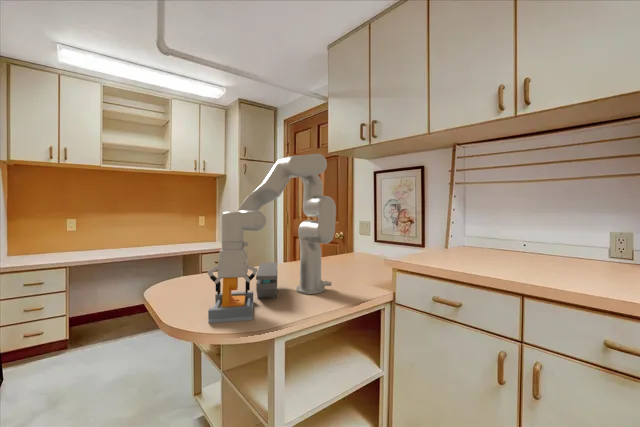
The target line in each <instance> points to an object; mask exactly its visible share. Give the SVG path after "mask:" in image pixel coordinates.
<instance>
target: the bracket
mask: <svg viewBox="0 0 640 427" xmlns="http://www.w3.org/2000/svg"><path fill="white" fill-rule="evenodd" d="M238 280H239V278H222V292H221V293H222V307H238V306H245V296H232V295H231V293H232V291H237V290H238V288H239V287H238V286H239V284H238V283H239V281H238Z"/></svg>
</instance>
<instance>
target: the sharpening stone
mask: <svg viewBox="0 0 640 427" xmlns="http://www.w3.org/2000/svg"><path fill="white" fill-rule="evenodd" d="M257 270H258V271H257V273H256V275H255V281H256V284H255V286H256V287H255V288H256V289H255V290H256V296H257V299H266V298H267V299H268V298H270V299H271V298H277V296H278V262H260V264H259V266H258V268H257Z"/></svg>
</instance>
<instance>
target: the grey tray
mask: <svg viewBox="0 0 640 427" xmlns="http://www.w3.org/2000/svg"><path fill="white" fill-rule="evenodd" d="M222 293H223V292H220V294H219V295H217V292H216V293H215V295H214V297H215V298H214V301H215V303H214V306H213V307H209V309H207V310H208V316H207V317H208V319H207V320H208V324H215V323H229V322H230V323H231V322H244V321H253V318H254V317H253V316H254V291H252V290H251V291H248V293H246V291H240V292H239V291H236V292H235V291H234V292H231V295H232V296H245V306H238V307H222Z"/></svg>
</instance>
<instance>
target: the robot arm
mask: <svg viewBox="0 0 640 427" xmlns="http://www.w3.org/2000/svg"><path fill="white" fill-rule="evenodd" d="M327 162H328V161H327V159H326V157H325V156H324V155H323V154H321V153H313V154H312V153H310V154H301V155H300V154H299V155H291V156H283V157H281V158H278V159H277V161H275V162H274V164H273V166H272V167H271V169H270V171H269V172H268V174H267V175H266V177H265V178H264V180H263V181H262V183H261V184H260V185H259V186H257V188H256V189H255V190H253V191H252V192H251V193H250V194H249V195H248V196H246V198H245V199H244V200H243V202H241V204H240V205H239V207H238V208H237V210H232V211H224V212H222V214H221V249H219V253H218V259H217V260H218V261H217V262H218V264H217V265H216V266H214V267H211V269H208V270H207V273H206V274H207V275H208V276H209V278H210V280H212V282H214V284H215V292H216V293H217V295H219V294H220V293H222V292H221V289H222V288H221V285H222V284H221V280H223V278H238V279H239V278H243V279H244V280H245V292H246V293H248V292H249V291H250V290H251V289H250V288H251V286H250V284H251V283H250V282H251V281H252V280H253V279H254V278H256V275H257V272H258V268H257V267H254V266H252V265H250V264H249V263H248V253H247V250H246V248H245V247H248V246H249V243H248V242H246V241H245V240H244V239H245V237H244V236H245V235H244V231H251V232H252V231H253V232H257V231H260V230H262V229H263V228H265V226H266V225H267V217H266V215H265V213H263V212H261V211H259V210H260V209H262V208H263V207H264V206H265V205H267V204H269V203H271V202H273V201H275V200H277V199H278V198H280V196H282V193H283V192H284V190H285V188H286V187H287V185H288V183H289V182H290V181H291V179H292V178H294V179H295V178H300V179H301V181H302V185H303V194H302V212H303V214H304V215H305V216H306V217H309V218H317V220H315V219H306V220H303V221H302V222H301V223H300V224H299V226H298V230H297V234H298V241H299V252H300V255H299V256H300V257H299V262H300V263H299V275H300V276H299V285H297V286H296V291H297V292H298V293H300V294H304V295H316V294H321V293H323V292H324V291H325V287H330V286H331V287H332V281H328V280H323V279H322V247H321V244H329V243H330V242H332V241H333V239H334V238H335V233H336V222H337V221H336V219H337V218H336V217H337V206H336V202H335V199H333V198H332V196H331V197H330V196H328V195H323V194H324V192H323V190H324V189H323V181H322V179H321V176H319V175H322V174H323V173H324V172H325V171H326V170H327V167H328V163H327ZM248 270H250V271H252V273H251V274H250V275H249V274H248V272H249V271H248ZM216 271H217V276H215V274H214V272H216Z"/></svg>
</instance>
